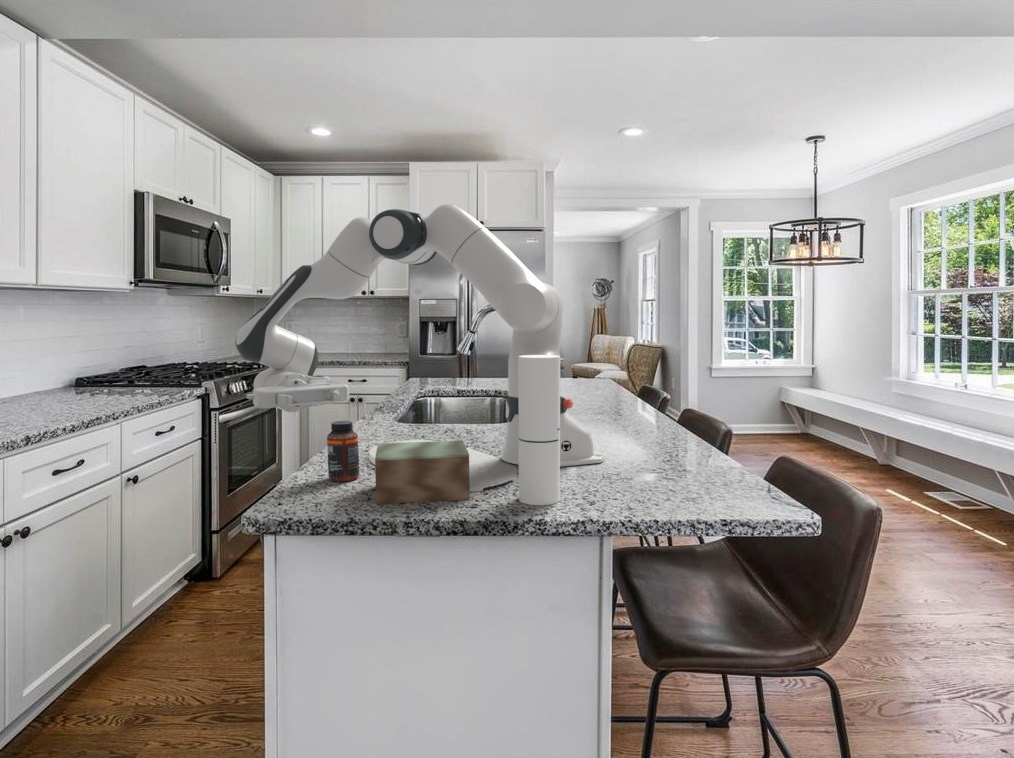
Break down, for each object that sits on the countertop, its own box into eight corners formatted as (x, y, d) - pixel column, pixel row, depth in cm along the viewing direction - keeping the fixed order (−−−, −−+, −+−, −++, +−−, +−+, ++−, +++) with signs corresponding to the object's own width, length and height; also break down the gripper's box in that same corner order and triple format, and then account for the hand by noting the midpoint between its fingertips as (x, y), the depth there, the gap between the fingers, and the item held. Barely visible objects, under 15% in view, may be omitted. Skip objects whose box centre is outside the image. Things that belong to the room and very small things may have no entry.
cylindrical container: (564, 495, 114) (564, 355, 111) (553, 507, 107) (554, 358, 104) (525, 491, 116) (525, 354, 113) (513, 503, 109) (512, 357, 107)
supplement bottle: (363, 475, 128) (362, 419, 127) (353, 483, 123) (351, 424, 121) (334, 474, 129) (333, 419, 128) (323, 482, 123) (321, 424, 122)
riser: (463, 481, 123) (462, 440, 123) (469, 499, 112) (469, 454, 111) (379, 485, 121) (378, 443, 120) (376, 503, 109) (375, 457, 108)
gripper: (243, 381, 138) (264, 387, 127) (333, 375, 150) (359, 381, 140) (244, 410, 138) (265, 419, 128) (333, 402, 151) (360, 409, 140)
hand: (315, 399), depth 134 cm, fingers open, 8 cm apart
